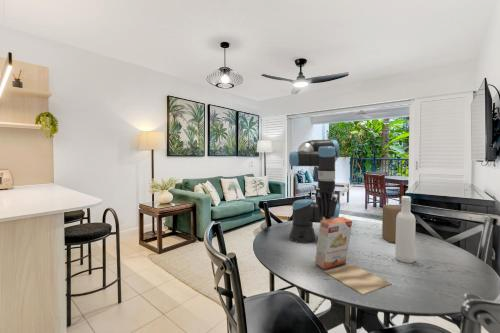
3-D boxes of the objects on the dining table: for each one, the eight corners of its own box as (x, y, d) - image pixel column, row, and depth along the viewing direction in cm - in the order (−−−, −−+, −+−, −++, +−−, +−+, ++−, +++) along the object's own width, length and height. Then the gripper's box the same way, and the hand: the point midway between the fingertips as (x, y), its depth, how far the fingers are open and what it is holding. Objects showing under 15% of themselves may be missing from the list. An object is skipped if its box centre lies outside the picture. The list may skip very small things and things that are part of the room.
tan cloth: (324, 272, 104) (324, 271, 104) (351, 264, 111) (351, 263, 111) (362, 295, 87) (362, 293, 87) (391, 284, 94) (391, 283, 94)
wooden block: (398, 237, 147) (399, 204, 146) (407, 243, 137) (408, 208, 136) (381, 237, 148) (382, 204, 147) (389, 242, 138) (389, 207, 137)
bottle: (391, 257, 118) (392, 196, 117) (402, 255, 121) (403, 194, 120) (407, 264, 111) (409, 198, 109) (418, 261, 114) (420, 197, 112)
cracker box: (324, 270, 105) (329, 224, 102) (314, 263, 111) (319, 219, 107) (346, 263, 112) (352, 220, 108) (336, 257, 117) (342, 215, 113)
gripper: (310, 179, 116) (310, 228, 117) (330, 181, 105) (330, 236, 106) (322, 178, 120) (322, 226, 120) (343, 180, 108) (342, 233, 109)
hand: (326, 230), depth 113 cm, fingers closed
